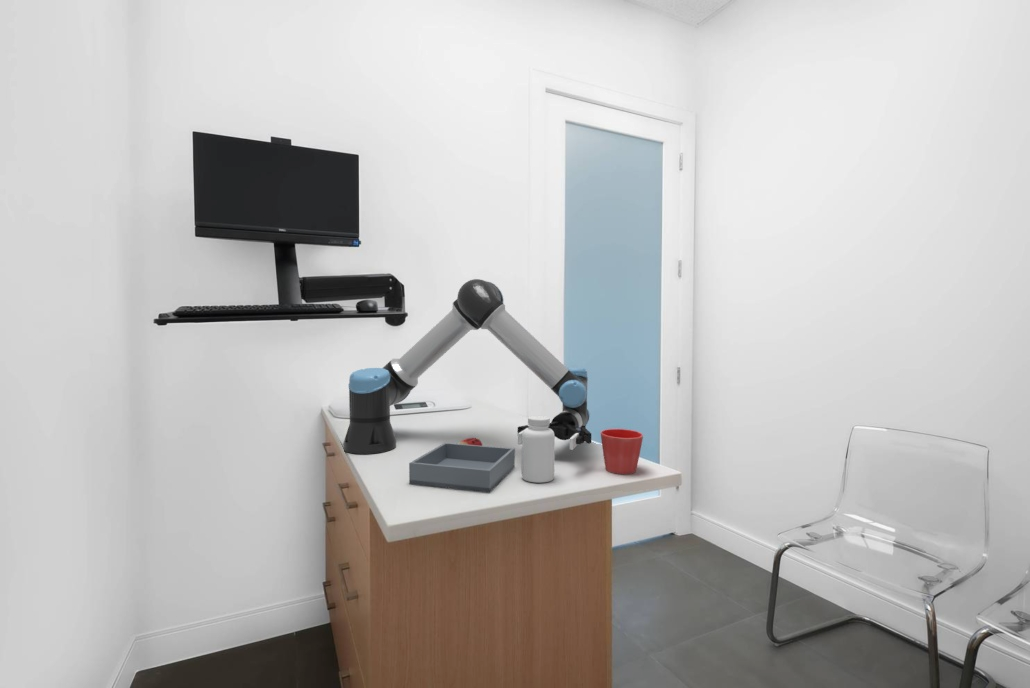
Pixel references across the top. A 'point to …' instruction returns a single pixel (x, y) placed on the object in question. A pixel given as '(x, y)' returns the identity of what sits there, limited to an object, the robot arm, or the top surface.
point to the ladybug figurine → (471, 441)
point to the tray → (462, 467)
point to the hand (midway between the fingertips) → (544, 441)
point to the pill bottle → (538, 450)
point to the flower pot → (621, 450)
